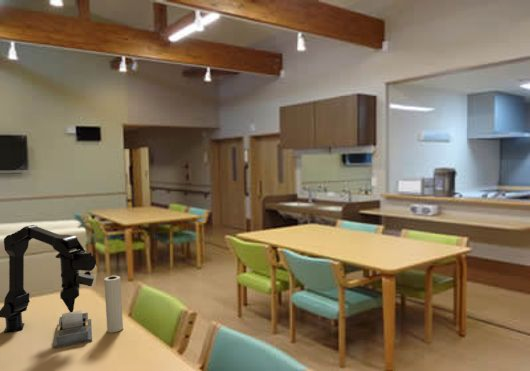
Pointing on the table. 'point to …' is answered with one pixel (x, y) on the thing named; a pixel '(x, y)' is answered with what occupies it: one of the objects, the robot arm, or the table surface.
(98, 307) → the table surface
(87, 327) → the rack
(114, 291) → the paper towel roll
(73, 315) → the plain gray rectangular block
